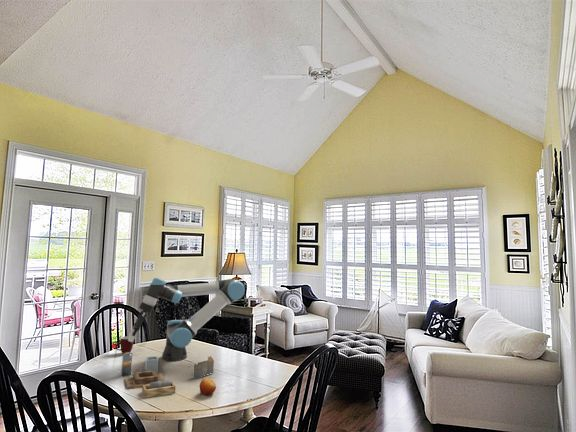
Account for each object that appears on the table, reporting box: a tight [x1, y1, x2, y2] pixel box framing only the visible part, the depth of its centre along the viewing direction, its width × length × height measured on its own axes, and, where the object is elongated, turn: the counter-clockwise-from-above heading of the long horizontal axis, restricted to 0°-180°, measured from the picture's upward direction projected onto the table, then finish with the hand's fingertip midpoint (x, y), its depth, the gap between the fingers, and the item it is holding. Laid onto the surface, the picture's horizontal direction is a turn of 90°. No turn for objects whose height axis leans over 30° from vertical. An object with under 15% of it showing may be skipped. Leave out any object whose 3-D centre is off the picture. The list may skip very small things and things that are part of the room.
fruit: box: [199, 377, 217, 396], centre depth 172 cm, size 8×8×8 cm
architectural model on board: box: [193, 355, 215, 379], centre depth 196 cm, size 11×3×10 cm, turn 141°
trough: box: [141, 379, 176, 398], centre depth 170 cm, size 14×7×5 cm, turn 119°
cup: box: [144, 355, 159, 373], centre depth 199 cm, size 6×6×7 cm
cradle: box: [124, 370, 166, 390], centre depth 183 cm, size 18×14×4 cm
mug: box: [115, 335, 135, 355], centre depth 228 cm, size 11×8×10 cm
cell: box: [120, 352, 133, 377], centre depth 192 cm, size 5×5×12 cm
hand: (130, 339), depth 200 cm, fingers open, 13 cm apart
